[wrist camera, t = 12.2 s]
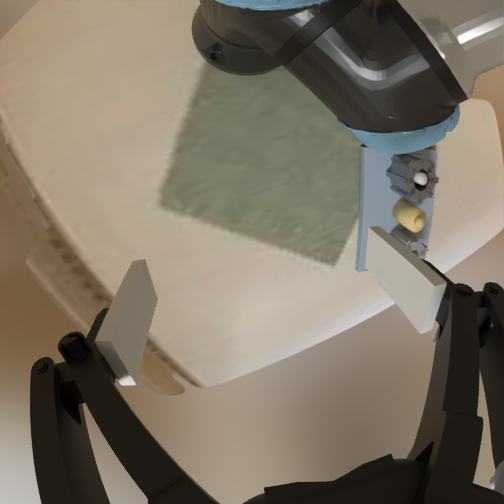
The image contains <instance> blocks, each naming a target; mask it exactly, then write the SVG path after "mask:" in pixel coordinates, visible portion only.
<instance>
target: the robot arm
mask: <svg viewBox="0 0 504 504" xmlns="http://www.w3.org/2000/svg"><path fill="white" fill-rule="evenodd" d="M192 35H193V39H194V43H195V45H196V48H197V50H198V51H199V53H200V54H201V55H202V57H203V58H204V59H205V60H206V61H207V62H209V63H210V64H211V65H213V66H214V67H216V68H218V69H220V70H222V71H225V72H228V73H231V74H236V75H258V74H263V73H267V72H270V71H272V70H274V69H276V68H278V67H280V66H281V65H283V66H284V68H286V69H287V70H288V71H289V72H290V73H291V74H293V75H294V76H295V77H296V78H297V79H298V80H299V81H300V82H302V83H303V84H304V85H305V86H306V87H307V88H308V89H309V90H310V91H311V92H312V93H313V94H314V95H315V96H316V97H318V98H319V99H320V100H321V101H322V102H323V103H324V104H325V105H326V106H327V107H328V108H329V109H330V110H331V111H332V112H333V113H334V114H335V116H336V117H337V118H338V121H339V122H340V123H341V124H342V125H343V126H344V127H345V128H347V129H349V130H351V131H352V132H353V133H354V134H355V136H356V137H357V138H358V139H359V140H360V141H361V142H362V143H363V144H364V145H366V146H367V147H369V148H370V149H374V150H376V151H378V152H380V153H385V154H406V153H411V152H415V151H419V150H422V149H425V148H427V147H430V146H432V145H434V144H436V143H437V142H439V141H441V140H442V139H443V138H445V137H446V133H445V132H448V131H452V130H453V129H454V128H455V126H456V125H457V123H458V120H459V116H460V111H459V103H461V102H463V101H465V100H468V99H470V98H472V93H473V89H474V84H475V80H476V78H477V76H478V75H480V74H482V73H484V72H487V71H489V70H492V69H494V68H496V67H499V66H501V65H503V64H504V0H200V6H199V7H198V9H197V10H196V12H195V15H194V18H193V22H192ZM365 268H366V269H367V270H368V271H369V272H370V273H371V274H372V276H373V277H374V278H375V279H376V280H377V281H378V283H379V284H380V285H381V286H382V287H383V288H384V290H385V291H386V292H387V293H388V294H389V296H390V297H391V298H392V299H393V300H394V302H395V303H396V304H397V305H398V306H399V308H400V309H401V310H402V311H403V313H404V314H405V315H406V316H407V318H408V319H409V320H410V321H411V323H412V324H413V325H414V326H415V328H416V329H417V330H418V332H419V333H420V334H422V333H425V332H428V331H430V330H432V328H433V325H434V323H435V320H436V321H437V322H438V323H439V328H438V330H437V333H436V336H435V338H434V341H433V342H435V341H436V347H435V354H434V362H433V368H432V373H431V379H430V384H429V389H428V393H427V398H426V402H425V407H424V411H423V415H422V419H421V422H420V426H419V429H418V433H417V436H416V439H415V443H414V445H413V448H412V450H411V452H410V453H409V455H408V457H407V459H393V457H392V455H391V454H389V455H386V456H384V457H381V458H379V459H376V460H373V461H370V462H368V463H365V464H362V465H361V466H359V467H357V468H356V469H354V470H352V471H351V472H349V473H347V474H345V475H344V476H342V477H340V478H338V479H336V480H334V481H328V482H295V483H290V484H284V485H278V486H271V487H265V488H264V491H265V493H263V494H260V495H257V496H255V497H253V498H251V499H249V500H248V501H246V502H244V503H243V504H504V289H503V288H502V287H501V286H500V285H499V284H496V283H492V282H489V283H486V284H485V286H484V288H483V291H479V292H474V291H473V289H472V288H471V287H469V286H468V285H465V284H460V283H457V284H454V283H453V282H451V280H449V279H448V278H447V277H446V276H445V275H444V274H443V273H441V272H440V271H439V270H438V269H437V268H435V266H433V265H432V264H431V263H430V262H428V261H426V260H424V259H420V258H418V257H417V256H416V255H415V254H414V253H412V252H411V251H410V250H409V249H408V248H406V247H405V246H404V245H403V244H401V243H400V242H399V241H398V240H396V239H395V238H394V237H393V236H391V235H390V234H389V233H388V232H386V231H385V230H384V229H382V228H381V227H380V226H374V227H368V240H367V252H366V263H365ZM157 300H158V298H157V295H156V292H155V289H154V286H153V283H152V280H151V277H150V274H149V271H148V268H147V264H146V261H145V259H144V260H138V261H133V262H132V264H131V266H130V268H129V270H128V272H127V274H126V275H125V277H124V279H123V281H122V283H121V285H120V287H119V289H118V291H117V293H116V295H115V297H114V299H113V302H112V304H111V306H110V308H105V309H103V310H102V311H101V312H100V313H99V314H98V315H97V317H96V319H95V321H94V324H93V325H92V327H91V329H90V331H89V333H88V335H87V338H86V339H85V337H84V335H83V334H82V333H81V332H71V333H69V334H67V335H66V336H64V337H63V338H62V339H61V340H60V341H59V344H58V350H59V352H60V353H61V354H62V356H63V358H64V359H65V362H62V363H58V364H55V363H54V361H53V360H52V359H51V358H49V357H44V358H41V359H39V360H38V361H36V362H35V363H34V365H33V367H32V370H31V382H30V383H31V384H30V421H31V438H32V450H33V458H34V466H35V473H36V479H37V484H38V489H39V494H40V499H41V503H42V504H110V502H109V499H108V497H107V494H106V491H105V488H104V486H103V483H102V480H101V477H100V474H99V471H98V467H97V464H96V461H95V457H94V454H93V450H92V446H91V442H90V439H89V434H88V430H87V426H86V421H85V416H84V411H83V405H82V403H86V405H87V407H88V409H89V411H90V412H91V414H92V416H93V418H94V420H95V422H96V423H97V425H98V427H99V429H100V430H101V432H102V434H103V435H104V437H105V439H106V440H107V442H108V444H109V445H110V447H111V448H112V450H113V451H114V453H115V455H116V456H117V458H118V459H119V461H120V462H121V463H122V465H123V466H124V467H125V469H126V471H127V472H128V473H129V475H130V476H131V477H132V479H133V480H134V481H135V483H136V484H137V485H138V487H139V488H140V489H141V490H142V492H143V493H144V494H145V496H146V497H147V498H148V504H220V503H218V502H217V501H216V500H215V499H214V498H213V497H211V496H210V495H209V494H208V493H207V492H206V491H205V490H204V489H203V488H201V487H200V486H199V485H198V484H197V483H196V482H195V481H194V480H193V479H192V478H191V477H190V476H189V475H188V474H187V473H186V472H185V471H184V470H183V469H182V468H181V467H180V466H179V465H178V464H177V463H176V462H175V461H174V459H173V458H172V457H171V456H170V455H169V454H168V453H167V452H166V451H165V450H164V449H163V447H162V446H161V445H160V444H159V443H158V441H157V440H156V439H155V438H154V437H153V436H152V434H151V433H150V432H149V431H148V429H146V427H145V426H144V424H143V423H142V422H141V421H140V419H139V418H138V417H137V415H136V414H135V413H134V411H133V410H132V409H131V407H130V406H129V405H128V403H127V402H126V400H125V399H124V398H123V396H122V395H121V393H120V392H119V390H118V389H117V388H116V386H115V385H114V383H115V379H116V378H117V379H118V381H119V382H120V384H121V385H136V384H137V380H138V376H139V371H140V367H141V362H142V358H143V354H144V350H145V345H146V341H147V337H148V333H149V329H150V326H151V322H152V318H153V314H154V311H155V307H156V303H157ZM492 324H493V326H492ZM479 371H480V372H481V376H482V381H483V386H484V391H485V397H486V403H487V409H488V415H489V423H490V432H491V443H492V452H493V459H494V464H495V468H496V471H495V475H494V476H493V477H492V478H491V480H490V487H491V488H492V489H494V490H491V489H488V488H485V487H482V486H479V485H477V484H474V483H473V479H474V475H475V471H476V467H477V462H478V456H479V451H480V445H481V438H482V431H483V419H482V417H478V416H477V408H478V396H479Z"/></svg>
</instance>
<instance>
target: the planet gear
mask: <svg viewBox="0 0 504 504" xmlns="http://www.w3.org/2000/svg"><path fill="white" fill-rule="evenodd" d="M391 161H392V164H391V167H390V169H389V171H386V176H387V177H389V178H390V182H391V186H390V189H391V190H392V191H393V192H395V193H397V194H399V195H401V196H403V197H405V198H407V199H408V200H411V201H413V202H415V203H417V204H422V200H424V199H425V198H427V197H429V198H432V196H433V195H434V194H433V189H434V187H435V184H436V183H438V180H439V177H436V174H435V169H434V168H435V166H436V165H435V163H434V162H433V161H430V160H427V159H425V156H423V155H420V154H416V153H412V152H411V153H406V154H402V155H400V156H398V157H397V156H394V155H393V157H392V158H391ZM417 171H419V172H421V173H424V174H426V175H427V177H428V180H427V183H426V184H425V185H421V184H419V183H417V182H414V181H413V180H414V177H415V174H416V172H417Z"/></svg>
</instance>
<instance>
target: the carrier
mask: <svg viewBox="0 0 504 504" xmlns="http://www.w3.org/2000/svg"><path fill="white" fill-rule="evenodd" d="M360 148H361V188H360V217H359V234H358V248H357V260H356V270H357V271H358V272H363V271H368V270H367V269H366V268H365V263H366V252H367V240H368V227H374V226H380V227H381V228H382V229H384V230H385V231H386V232H388V233H389V234H390V235H391V236H393V237H394V238H395V239H396V240H398V241H399V242H400V243H401V244H403V245H404V246H405V247H406V248H408V249H409V250H410V251H411V252H412V253H414V254H415V255H416V256H417V257H418V258H420V259H424V260H425V256H426V252H427V251H428V247H427V245H428V239H429V233H430V227H431V220H432V212H433V204H434V195H435V187H434V189H433V194H434V195H433V196H432V198H429V197H427V198H425V199H424V200H422V204H417V203H415V202H413V201H411V200H408V199H407V198H405V197H403V196H401V195H399V194H397V193H395V192H393V191H392V190H391V189H390V186H391V182H390V178H389V177H387V176H386V171H389V169H390V167H391V164H392V161H391V158H392V157H393V155H394V156H397V157H398V156H400V155H402V154H385V153H380V152H378V151H376V150H374V149H370V148H369V147H360ZM412 153H416V154H420V155H423V156H425V159H427V160H430V161H433V162H434V163H435V165H436V166H435V168H434V169H435V174H436V170H437V150H434V149H422V150H419V151H415V152H412ZM427 180H428V177H427V175H426V174H424V173H421V172H419V171H417V172H416V174H415V177H414V180H413V181H414V182H417V183H419V184H421V185H425V184H426V183H427Z"/></svg>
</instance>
